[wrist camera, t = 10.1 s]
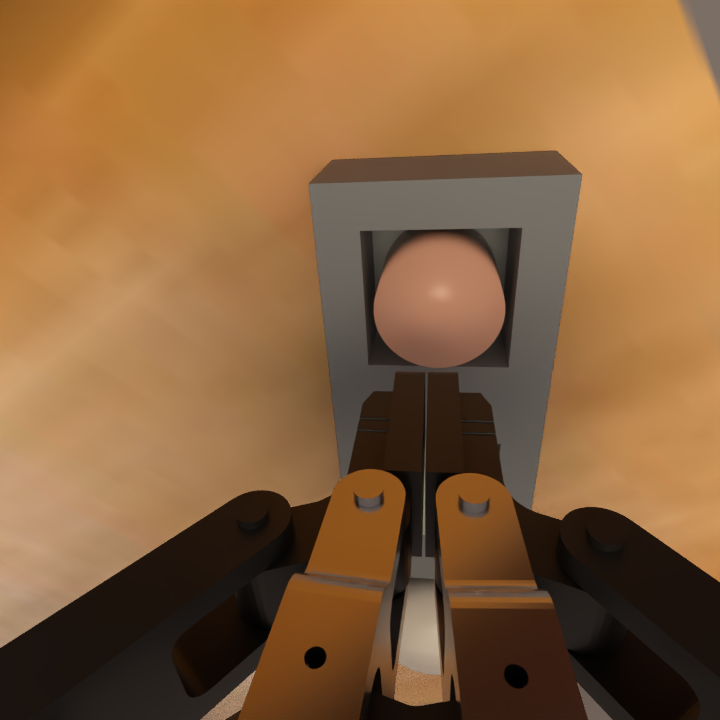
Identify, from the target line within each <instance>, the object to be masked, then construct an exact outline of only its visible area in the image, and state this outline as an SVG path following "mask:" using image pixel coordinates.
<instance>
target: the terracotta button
mask: <svg viewBox="0 0 720 720" xmlns="http://www.w3.org/2000/svg"><path fill="white" fill-rule="evenodd" d="M504 317H505V299H504V294H503V290H502V286H501V282H500V278H499V273H498V269H497V265H496V261H495V258H494V254H493V252H492V250H491V248H490V246H489V245H488V243H487V242H486V240H485V239H484V238H483V237H482V236H481V235H480V234H479V233H478V232H476V231H475V230H474V229H432V230H407V231H406V232H404V233H403V234H402V235H401V236H400V237H399V238H398V239H397V240H396V241H395V242H394V243H393V245H392V247H391V248H390V250H389V252H388V254H387V256H386V260H385V263H384V267H383V270H382V274H381V277H380V281H379V285H378V288H377V292H376V295H375V300H374V319H375V323H376V327H377V329H378V332H379V334H380V336H381V337H382V339H383V341H384V342H385V343H386V344H387V346H388V347H389V348H390V349H391V350H392V351H393V352H395V353H396V354H397V355H398V356H400V357H402V358H403V359H405V360H407V361H409V362H411V363H414V364H417V365H420V366H425V367H431V368H446V367H453V366H457V365H461V364H464V363H466V362H469V361H471V360H473V359H474V358H476V357H478V356H479V355H481V354H482V353H483V352H484V351H486V350H487V349H488V348H489V347H490V346H491V344H492V343H493V342H494V341H495V339H496V338H497V336H498V334H499V332H500V330H501V328H502V325H503V322H504Z"/></svg>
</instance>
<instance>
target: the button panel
mask: <svg viewBox="0 0 720 720" xmlns="http://www.w3.org/2000/svg"><path fill="white" fill-rule="evenodd" d="M581 180H582V174H581V173H580V172H579V171H578V170H577V169H576V168H575V167H574V166H573V165H571V164H570V163H569V162H568V161H567V160H566V159H565V158H564V157H563V156H562V155H561V154H559V153H558V152H557V151H537V152H512V153H488V154H464V155H440V156H416V157H392V158H368V159H344V160H332V161H331V162H330V163H329V164H328V165H327V166H326V167H325V168H324V169H323V170H322V171H321V172H320V173H319V174H318V175H317V176H316V177H315V178H314V179H313V180H312V181H311V182H310V183H309V192H310V201H311V210H312V219H313V228H314V237H315V246H316V256H317V265H318V274H319V283H320V292H321V301H322V310H323V319H324V329H325V338H326V347H327V356H328V365H329V374H330V383H331V392H332V402H333V411H334V420H335V429H336V438H337V447H338V456H339V465H340V475H341V479H342V478H344V477H345V476H347V474H348V469H349V465H350V460H351V455H352V451H353V446H354V441H355V437H356V432H357V427H358V423H359V420H360V413H361V409H362V404H363V402H364V401H365V400H366V399H367V398H368V397H369V396H370V395H371V394H372V393H373V391H393V387H394V379H395V372H396V371H415V372H425V441H426V424H427V387H428V372H458V378H459V392H462V393H481V394H482V395H483V396H484V398H485V399H486V400H487V401H488V402H489V403H490V405H491V406H492V412H493V419H494V425H495V431H496V437H497V444H498V450H499V456H500V463H501V469H502V475H503V481H504V485H505V487H506V489H507V490H508V491H509V493H510V494H511V496H512V497H513V498H514V499H515V500H516V501H517V502H518V503H519V504H521V505H522V506H524V507H526V508H527V509H529V510H531V509H532V503H533V496H534V489H535V483H536V476H537V470H538V463H539V456H540V450H541V443H542V437H543V430H544V424H545V417H546V410H547V404H548V397H549V391H550V384H551V377H552V371H553V364H554V358H555V351H556V345H557V338H558V331H559V325H560V318H561V312H562V305H563V298H564V292H565V285H566V279H567V272H568V266H569V259H570V252H571V246H572V239H573V233H574V226H575V219H576V213H577V206H578V200H579V193H580V187H581ZM432 229H474V230H475V231H476V232H478V233H479V234H480V235H481V236H482V237H483V238H484V239H485V240H486V242H487V243H488V245H489V246H490V248H491V250H492V252H493V254H494V258H495V261H496V265H497V269H498V273H499V278H500V282H501V286H502V290H503V294H504V299H505V317H504V322H503V325H502V328H501V330H500V332H499V334H498V336H497V338H496V339H495V341H494V342H493V343H492V344H491V346H490V347H489V348H488V349H487V350H486V351H484V352H483V353H482V354H481V355H479V356H478V357H476V358H474V359H473V360H471V361H469V362H466V363H464V364H461V365H457V366H453V367H446V368H431V367H425V366H420V365H417V364H414V363H411V362H409V361H407V360H405V359H403V358H402V357H400V356H398V355H397V354H396V353H395V352H393V351H392V350H391V349H390V348H389V347H388V346H387V344H386V343H385V342H384V341H383V339H382V337H381V336H380V334H379V332H378V329H377V327H376V323H375V319H374V300H375V295H376V292H377V288H378V285H379V281H380V277H381V274H382V270H383V267H384V263H385V260H386V256H387V254H388V252H389V250H390V248H391V247H392V245H393V243H394V242H395V241H396V240H397V239H398V238H399V237H400V236H401V235H402V234H403V233H404V232H406V231H407V230H432ZM410 577H411V578H424V579H435V558H434V557H425V535H423V539H422V557H414V556H412V562H411V576H410Z"/></svg>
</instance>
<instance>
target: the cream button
mask: <svg viewBox="0 0 720 720" xmlns="http://www.w3.org/2000/svg"><path fill="white" fill-rule="evenodd" d="M398 663H400V664H401V665H403V666H404V667H406V668H408V669H411V670H413V671H416V672H420V673H424V674H430V675H441V669H440V657H439V644H438V632H437V620H436V607H435V579H424V578H411V577H410V580H409V583H408V596H407V603H406V610H405V617H404V624H403V632H402V639H401V646H400V653H399V660H398Z"/></svg>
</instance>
